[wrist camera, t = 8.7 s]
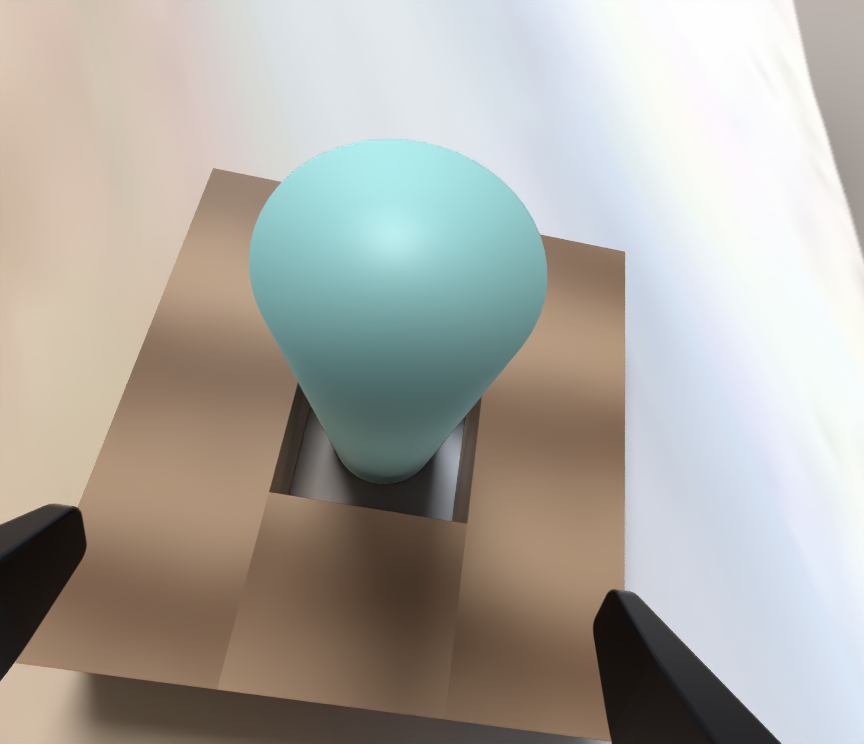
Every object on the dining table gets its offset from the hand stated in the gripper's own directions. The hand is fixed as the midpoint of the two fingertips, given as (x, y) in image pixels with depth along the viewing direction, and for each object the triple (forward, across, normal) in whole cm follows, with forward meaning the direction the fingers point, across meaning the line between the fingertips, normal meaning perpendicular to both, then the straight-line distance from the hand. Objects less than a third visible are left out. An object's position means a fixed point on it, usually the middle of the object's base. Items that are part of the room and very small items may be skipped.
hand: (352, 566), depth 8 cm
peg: (+9, 0, +3) cm, 10 cm away
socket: (+9, 0, +3) cm, 10 cm away
